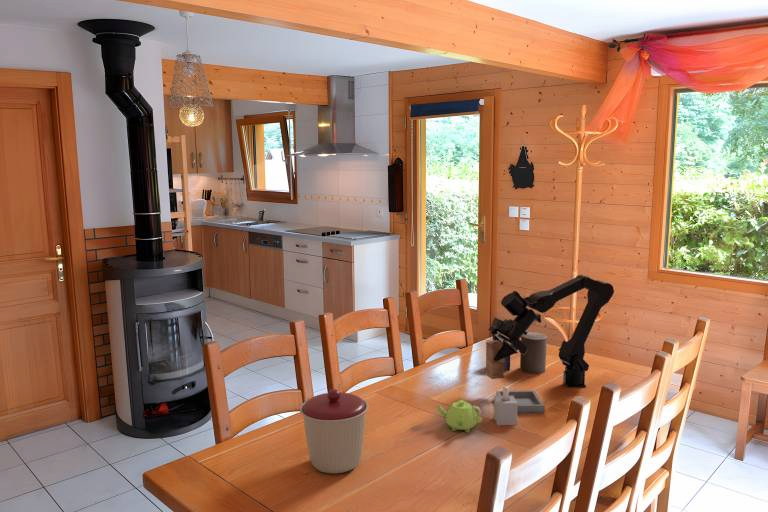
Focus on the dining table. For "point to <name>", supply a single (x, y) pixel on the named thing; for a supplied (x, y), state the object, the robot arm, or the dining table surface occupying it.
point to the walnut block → (494, 367)
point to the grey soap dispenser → (505, 408)
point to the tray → (526, 401)
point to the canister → (334, 430)
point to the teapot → (461, 415)
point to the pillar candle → (534, 353)
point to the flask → (507, 363)
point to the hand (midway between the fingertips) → (491, 358)
